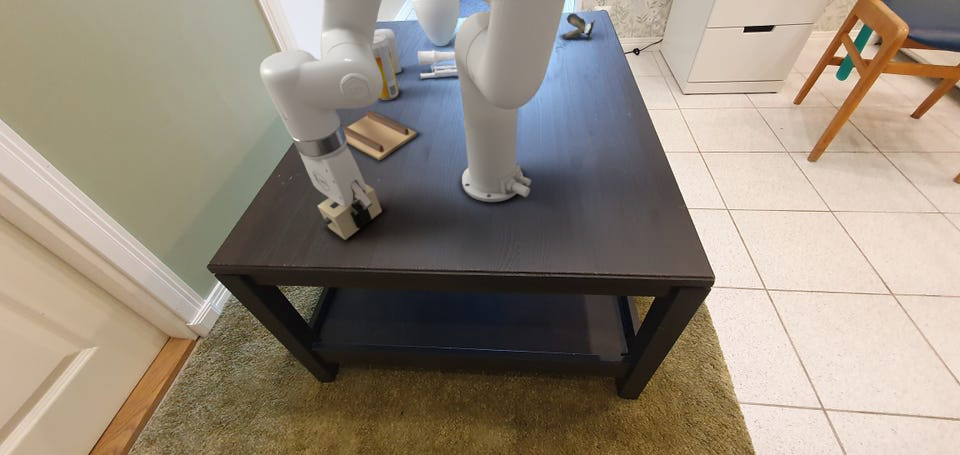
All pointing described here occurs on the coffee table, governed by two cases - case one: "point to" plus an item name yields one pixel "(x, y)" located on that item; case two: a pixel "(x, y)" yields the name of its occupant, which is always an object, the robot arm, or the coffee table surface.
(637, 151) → the coffee table surface
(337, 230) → the toaster
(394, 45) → the white curved piece
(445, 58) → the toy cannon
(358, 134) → the cradle
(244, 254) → the coffee table surface
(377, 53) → the beer can
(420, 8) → the vase
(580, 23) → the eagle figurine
